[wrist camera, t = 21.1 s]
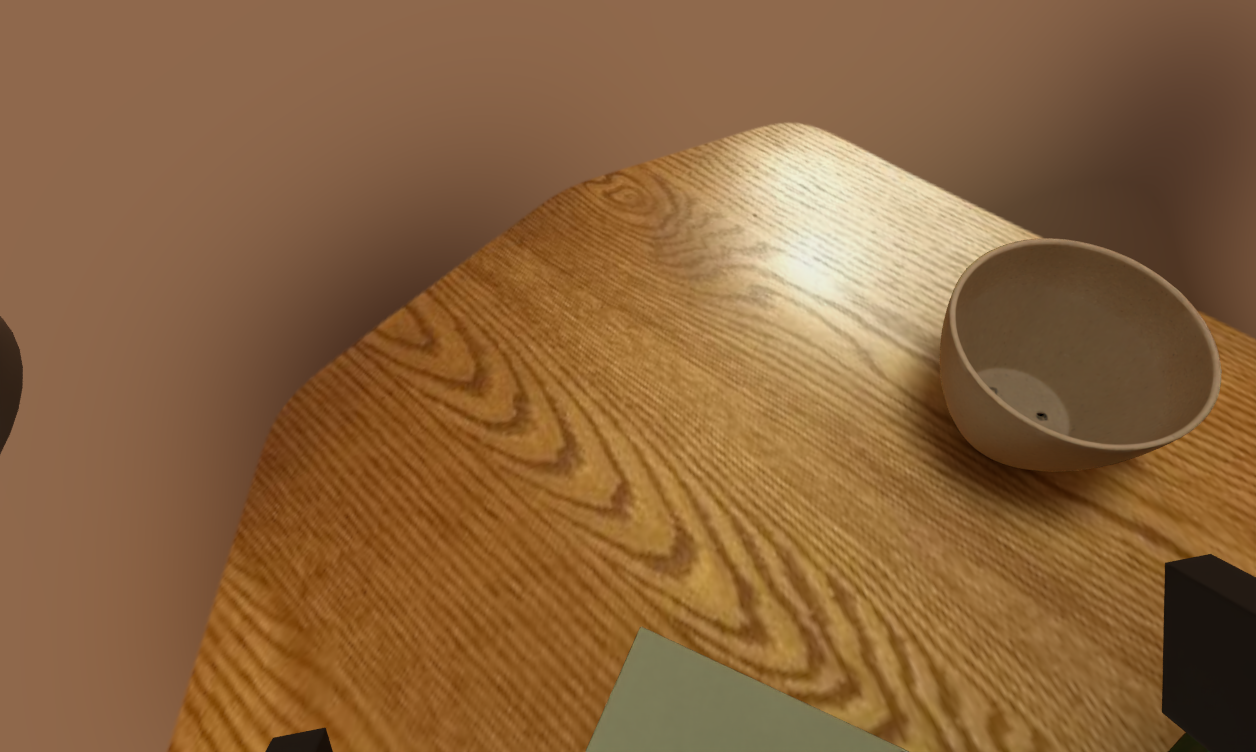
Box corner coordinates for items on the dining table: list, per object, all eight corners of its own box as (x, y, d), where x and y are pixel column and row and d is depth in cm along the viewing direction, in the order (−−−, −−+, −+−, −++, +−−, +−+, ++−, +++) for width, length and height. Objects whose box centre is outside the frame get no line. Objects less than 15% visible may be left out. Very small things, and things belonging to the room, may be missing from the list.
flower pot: (878, 470, 34) (924, 390, 28) (926, 310, 38) (975, 211, 32) (1110, 555, 31) (1219, 488, 25) (1132, 372, 36) (1228, 279, 30)
